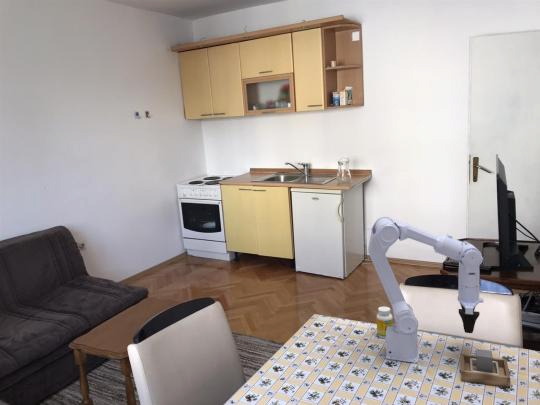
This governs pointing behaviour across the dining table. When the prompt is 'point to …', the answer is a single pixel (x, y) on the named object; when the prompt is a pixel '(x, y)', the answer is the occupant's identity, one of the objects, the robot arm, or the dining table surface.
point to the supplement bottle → (383, 321)
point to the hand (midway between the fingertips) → (468, 326)
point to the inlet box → (496, 378)
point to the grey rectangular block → (484, 361)
